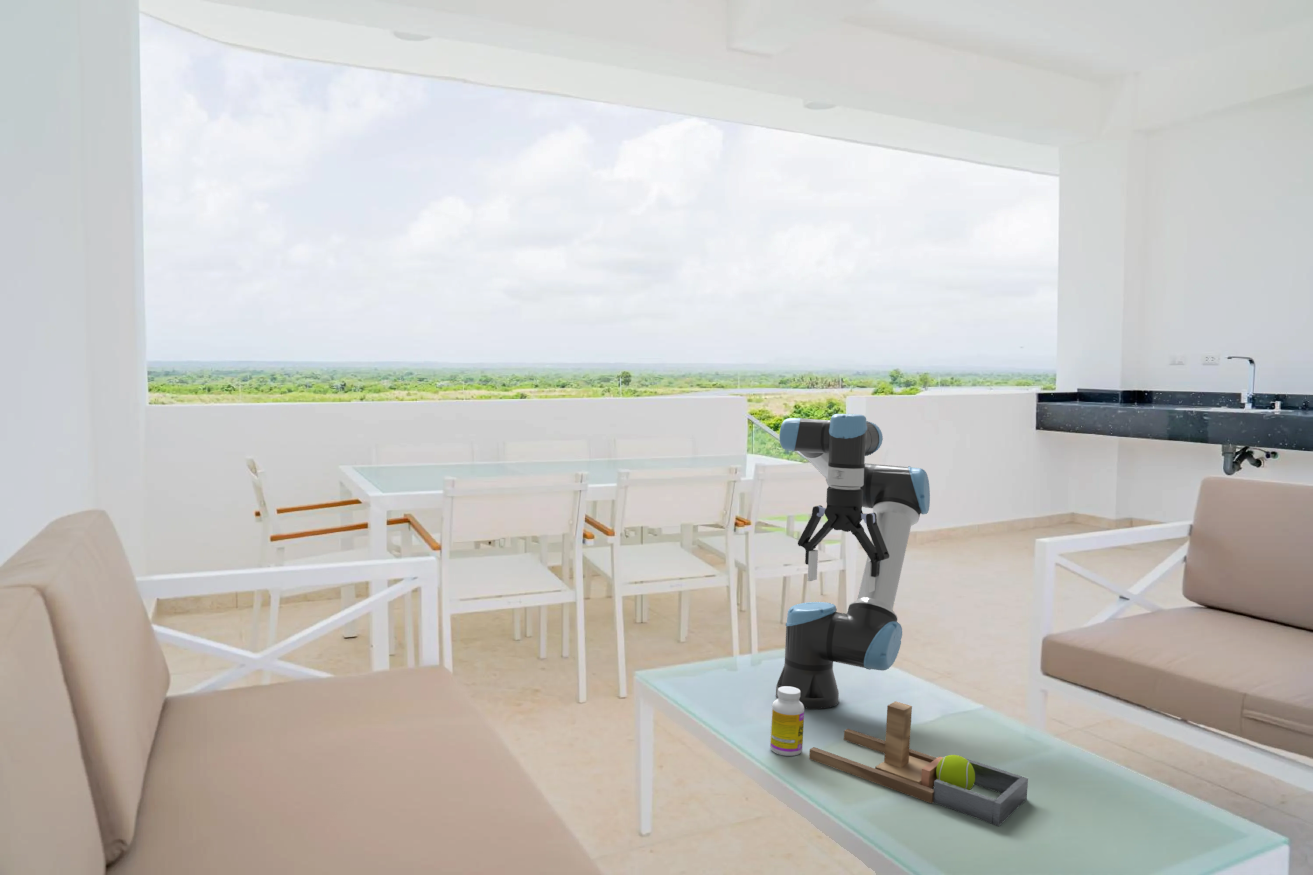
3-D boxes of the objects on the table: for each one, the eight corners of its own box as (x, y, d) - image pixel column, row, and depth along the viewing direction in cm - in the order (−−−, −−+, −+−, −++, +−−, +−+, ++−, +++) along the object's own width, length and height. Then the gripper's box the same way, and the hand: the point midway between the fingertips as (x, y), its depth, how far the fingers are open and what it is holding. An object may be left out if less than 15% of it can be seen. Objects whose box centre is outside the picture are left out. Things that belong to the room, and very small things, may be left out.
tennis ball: (976, 789, 164) (978, 754, 164) (970, 804, 158) (973, 767, 158) (938, 780, 168) (941, 745, 167) (931, 794, 162) (933, 758, 161)
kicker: (898, 759, 176) (901, 696, 175) (947, 775, 169) (951, 711, 169) (874, 774, 169) (878, 709, 168) (925, 792, 162) (930, 724, 161)
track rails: (847, 737, 187) (847, 728, 187) (965, 776, 170) (965, 766, 170) (809, 758, 175) (809, 749, 175) (931, 803, 158) (932, 792, 158)
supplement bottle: (801, 758, 175) (804, 697, 174) (768, 754, 176) (771, 693, 176) (802, 745, 182) (805, 686, 181) (771, 742, 183) (774, 682, 182)
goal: (963, 777, 169) (965, 757, 169) (1026, 798, 161) (1028, 778, 161) (932, 802, 159) (934, 781, 158) (998, 826, 151) (1000, 803, 150)
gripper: (784, 482, 187) (780, 578, 189) (893, 495, 171) (887, 599, 173) (802, 479, 193) (798, 572, 194) (908, 491, 177) (903, 593, 179)
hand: (840, 585), depth 184 cm, fingers open, 13 cm apart
